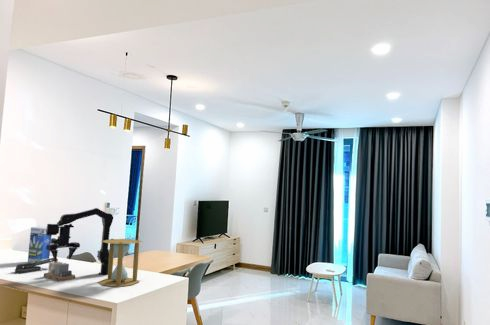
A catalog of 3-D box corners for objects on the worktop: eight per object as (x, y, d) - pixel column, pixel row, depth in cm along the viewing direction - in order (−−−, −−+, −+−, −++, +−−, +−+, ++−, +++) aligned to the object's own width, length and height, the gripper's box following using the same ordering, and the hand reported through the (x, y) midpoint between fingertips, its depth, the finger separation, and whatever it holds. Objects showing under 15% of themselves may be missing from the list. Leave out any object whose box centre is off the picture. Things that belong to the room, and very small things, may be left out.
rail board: (75, 278, 219) (76, 262, 220) (59, 281, 210) (60, 264, 211) (59, 274, 229) (60, 258, 230) (43, 276, 221) (45, 260, 221)
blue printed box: (27, 262, 260) (30, 227, 263) (35, 260, 267) (39, 226, 270) (41, 264, 256) (44, 228, 259) (49, 262, 264) (52, 227, 266)
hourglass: (146, 281, 217) (149, 240, 219) (116, 289, 198) (120, 244, 200) (120, 276, 229) (123, 237, 231) (90, 282, 210) (93, 240, 212)
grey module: (68, 274, 220) (68, 263, 221) (58, 276, 215) (59, 265, 216) (64, 273, 222) (64, 262, 223) (54, 274, 218) (55, 264, 218)
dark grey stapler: (59, 259, 245) (19, 263, 225) (58, 268, 244) (18, 274, 224) (53, 257, 250) (13, 261, 230) (52, 266, 250) (12, 272, 230)
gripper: (71, 232, 233) (69, 256, 232) (42, 234, 218) (40, 260, 216) (81, 234, 227) (79, 259, 225) (52, 236, 212) (49, 262, 210)
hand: (62, 260), depth 219 cm, fingers open, 9 cm apart
